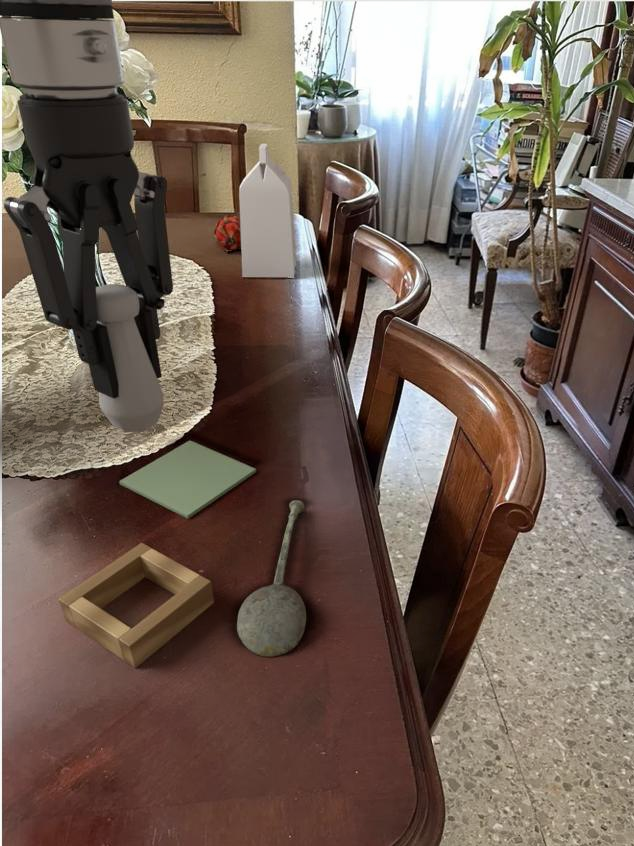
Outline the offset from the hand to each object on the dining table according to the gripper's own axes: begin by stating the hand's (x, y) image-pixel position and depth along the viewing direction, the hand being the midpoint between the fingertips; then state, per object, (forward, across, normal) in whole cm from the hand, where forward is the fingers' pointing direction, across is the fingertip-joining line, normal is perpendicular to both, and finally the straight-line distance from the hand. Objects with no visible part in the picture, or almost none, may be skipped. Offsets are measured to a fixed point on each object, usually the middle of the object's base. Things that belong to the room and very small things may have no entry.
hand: (128, 382), depth 61 cm
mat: (+20, +11, +8) cm, 24 cm away
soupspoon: (+20, +5, -14) cm, 25 cm away
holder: (+20, -8, -6) cm, 22 cm away
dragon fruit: (+21, +87, +73) cm, 116 cm away
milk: (+21, +80, +55) cm, 100 cm away
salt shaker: (+4, 0, 0) cm, 4 cm away
